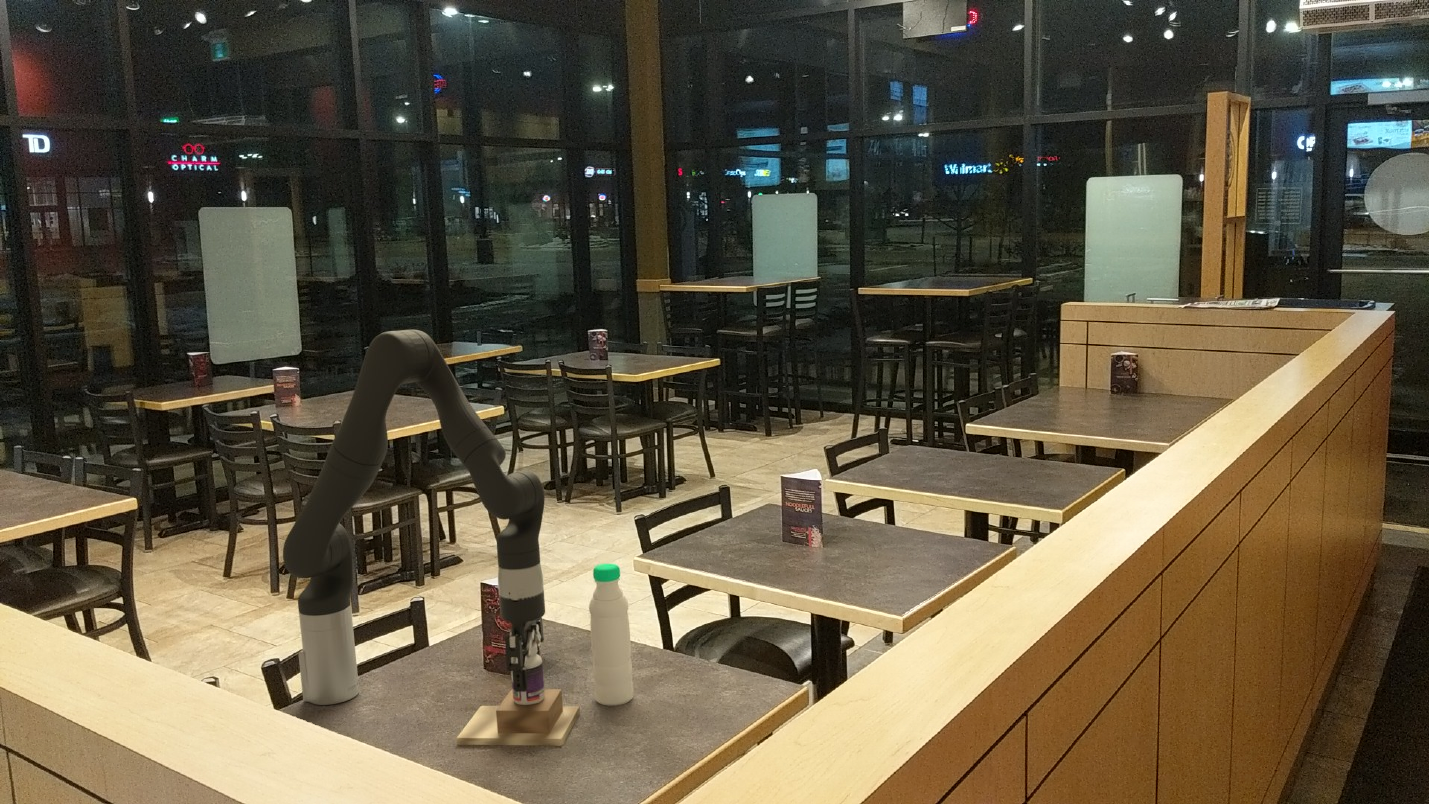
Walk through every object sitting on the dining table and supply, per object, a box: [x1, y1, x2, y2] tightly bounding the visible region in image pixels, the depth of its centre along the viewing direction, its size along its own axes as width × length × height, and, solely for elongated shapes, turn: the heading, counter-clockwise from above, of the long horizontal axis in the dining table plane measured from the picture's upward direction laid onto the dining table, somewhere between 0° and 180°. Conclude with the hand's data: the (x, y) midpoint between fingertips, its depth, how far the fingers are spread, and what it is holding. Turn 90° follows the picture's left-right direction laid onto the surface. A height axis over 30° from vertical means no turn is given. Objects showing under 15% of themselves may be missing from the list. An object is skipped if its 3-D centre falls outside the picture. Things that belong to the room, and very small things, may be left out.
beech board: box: [456, 705, 581, 747], centre depth 199 cm, size 18×13×1 cm
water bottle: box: [588, 563, 635, 707], centre depth 207 cm, size 7×7×25 cm
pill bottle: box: [510, 642, 545, 705], centre depth 197 cm, size 5×5×10 cm
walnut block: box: [496, 688, 563, 733], centre depth 198 cm, size 9×9×4 cm
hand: (527, 680), depth 197 cm, fingers open, 8 cm apart
